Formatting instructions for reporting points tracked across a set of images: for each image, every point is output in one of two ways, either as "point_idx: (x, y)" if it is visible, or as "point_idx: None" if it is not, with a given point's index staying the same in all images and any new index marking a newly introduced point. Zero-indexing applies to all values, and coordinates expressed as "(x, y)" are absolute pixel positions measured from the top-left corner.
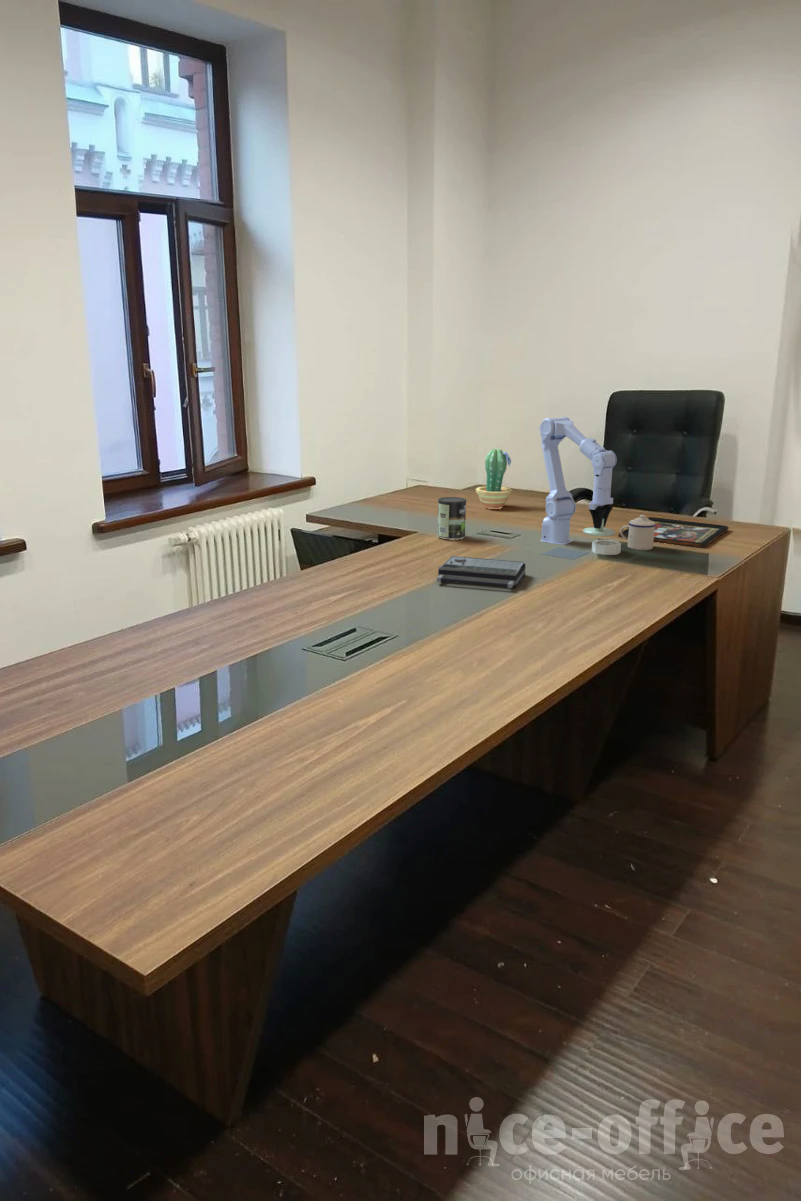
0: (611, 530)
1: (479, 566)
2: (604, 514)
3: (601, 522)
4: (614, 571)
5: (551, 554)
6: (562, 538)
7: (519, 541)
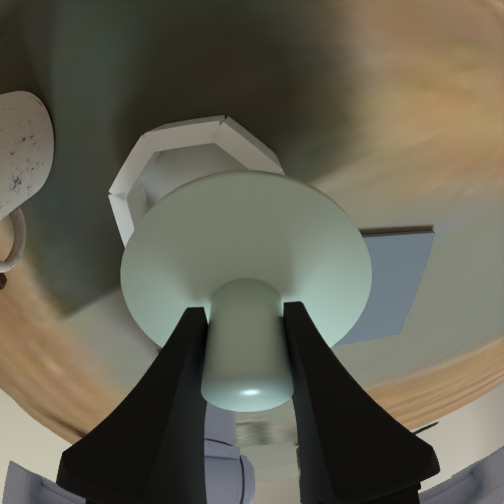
0: (161, 237)
1: None
2: (183, 424)
3: (311, 342)
4: (482, 42)
5: (393, 315)
6: None
7: (272, 411)
